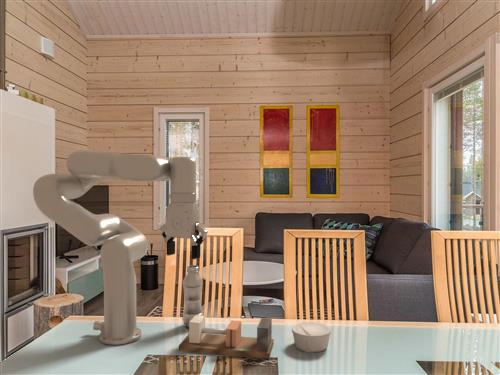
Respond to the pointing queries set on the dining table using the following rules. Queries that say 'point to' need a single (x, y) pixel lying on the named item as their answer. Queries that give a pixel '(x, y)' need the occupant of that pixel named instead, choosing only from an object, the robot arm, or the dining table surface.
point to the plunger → (201, 329)
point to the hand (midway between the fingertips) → (183, 256)
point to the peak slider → (233, 334)
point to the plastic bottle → (192, 294)
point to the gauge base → (245, 347)
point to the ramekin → (311, 336)
